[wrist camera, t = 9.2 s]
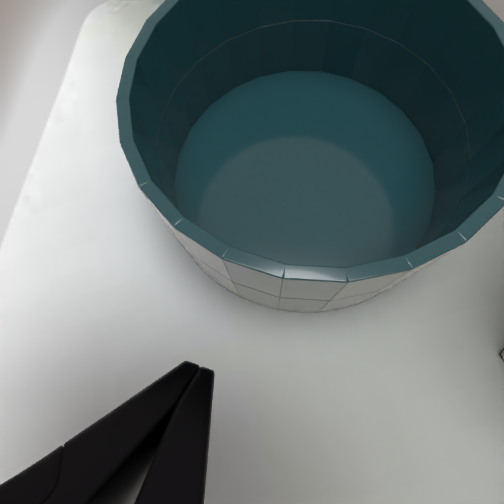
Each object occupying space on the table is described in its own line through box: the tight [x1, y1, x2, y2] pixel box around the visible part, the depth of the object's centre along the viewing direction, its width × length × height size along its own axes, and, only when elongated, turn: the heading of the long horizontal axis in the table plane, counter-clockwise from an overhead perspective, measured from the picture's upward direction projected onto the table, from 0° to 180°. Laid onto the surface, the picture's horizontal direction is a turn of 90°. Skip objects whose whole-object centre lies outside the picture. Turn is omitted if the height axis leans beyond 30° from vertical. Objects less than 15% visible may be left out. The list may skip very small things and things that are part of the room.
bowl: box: [116, 0, 504, 312], centre depth 19 cm, size 18×18×8 cm
